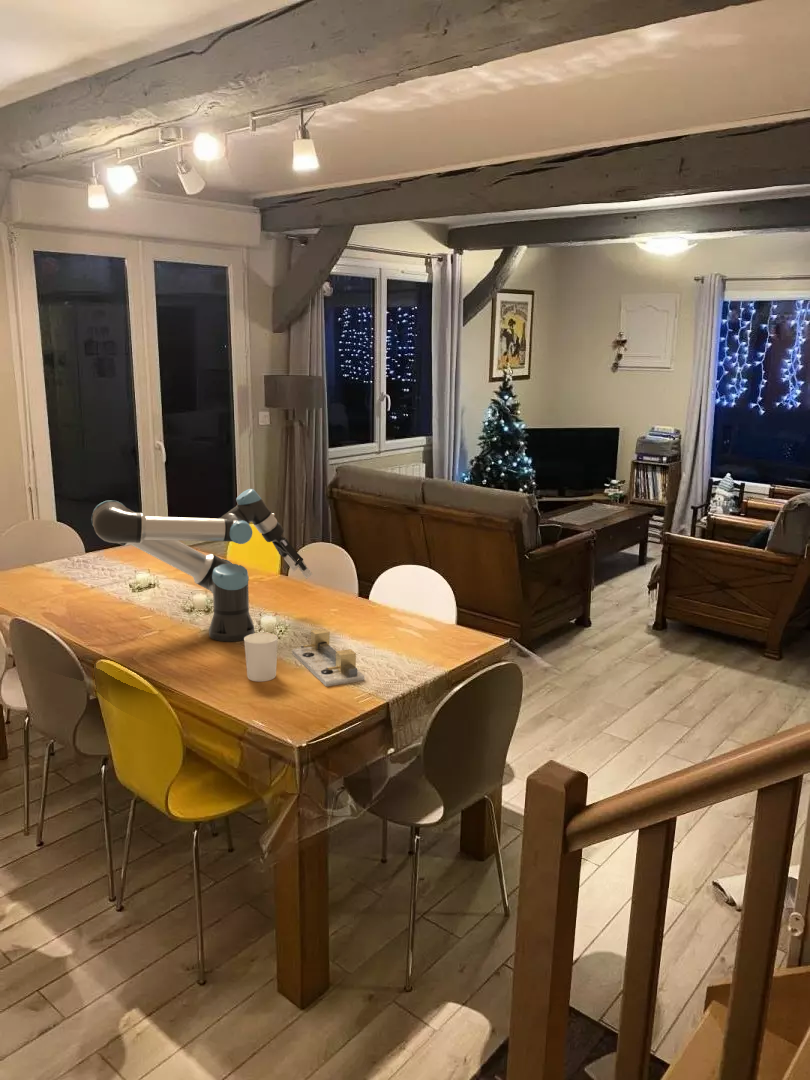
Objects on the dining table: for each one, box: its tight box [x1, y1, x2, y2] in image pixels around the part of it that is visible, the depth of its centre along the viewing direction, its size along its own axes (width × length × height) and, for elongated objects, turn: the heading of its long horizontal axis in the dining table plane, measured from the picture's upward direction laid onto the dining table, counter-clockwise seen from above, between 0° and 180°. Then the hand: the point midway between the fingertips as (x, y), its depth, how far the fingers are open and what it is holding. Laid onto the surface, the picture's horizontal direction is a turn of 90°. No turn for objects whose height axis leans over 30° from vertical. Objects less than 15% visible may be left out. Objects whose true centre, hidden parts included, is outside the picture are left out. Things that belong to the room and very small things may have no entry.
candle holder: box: [243, 632, 279, 683], centre depth 242 cm, size 10×10×12 cm
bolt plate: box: [291, 642, 365, 687], centre depth 251 cm, size 12×30×7 cm, turn 26°
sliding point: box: [300, 628, 330, 649], centre depth 263 cm, size 9×4×5 cm, turn 116°
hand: (302, 572), depth 300 cm, fingers open, 13 cm apart
